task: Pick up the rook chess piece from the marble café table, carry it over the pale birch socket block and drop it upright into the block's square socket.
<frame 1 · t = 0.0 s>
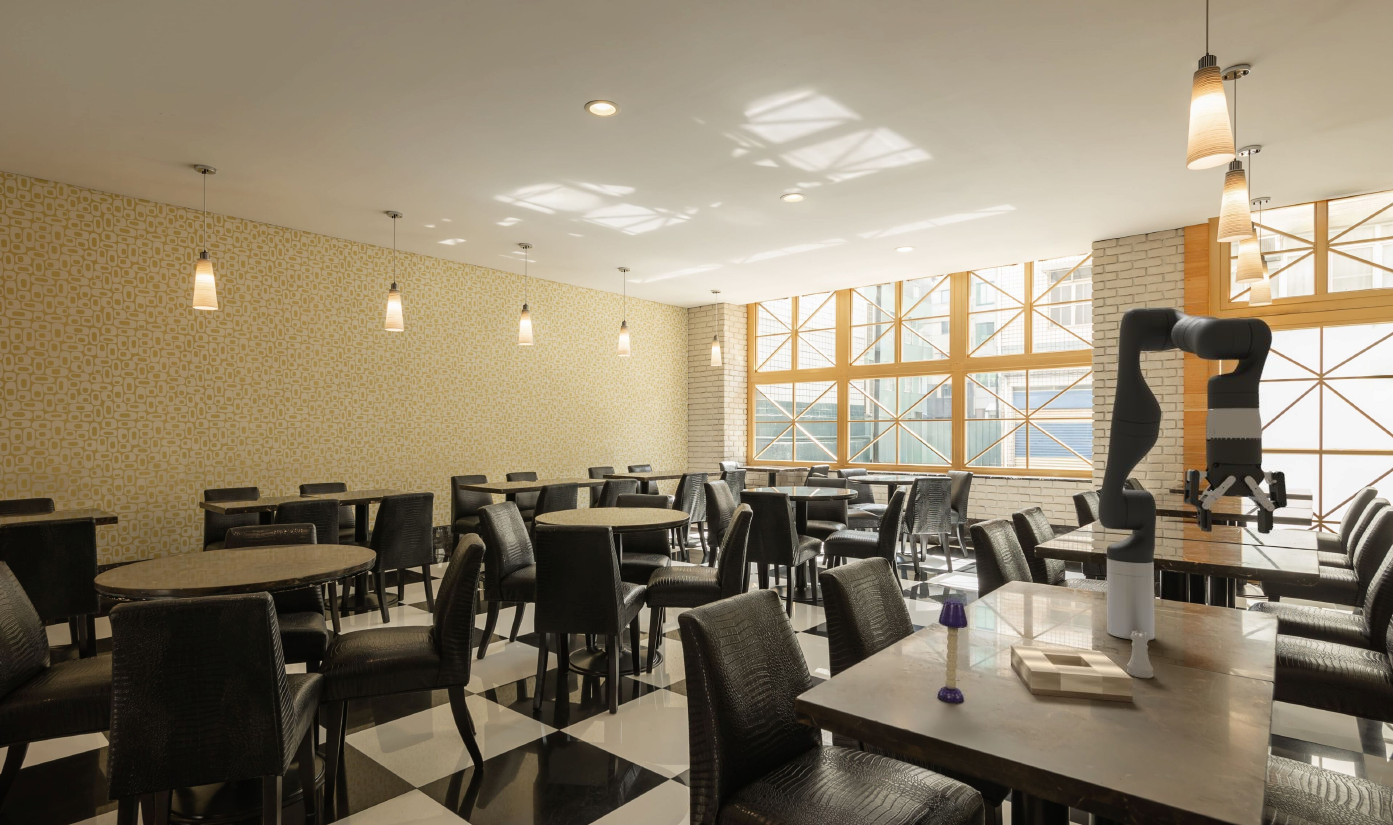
hand: (1234, 532, 119), 29 cm above the table, fingers open, 8 cm apart
toy lamp: (952, 700, 121), on the table
socket block: (1067, 682, 130), on the table
rook chess piece: (1140, 676, 135), on the table
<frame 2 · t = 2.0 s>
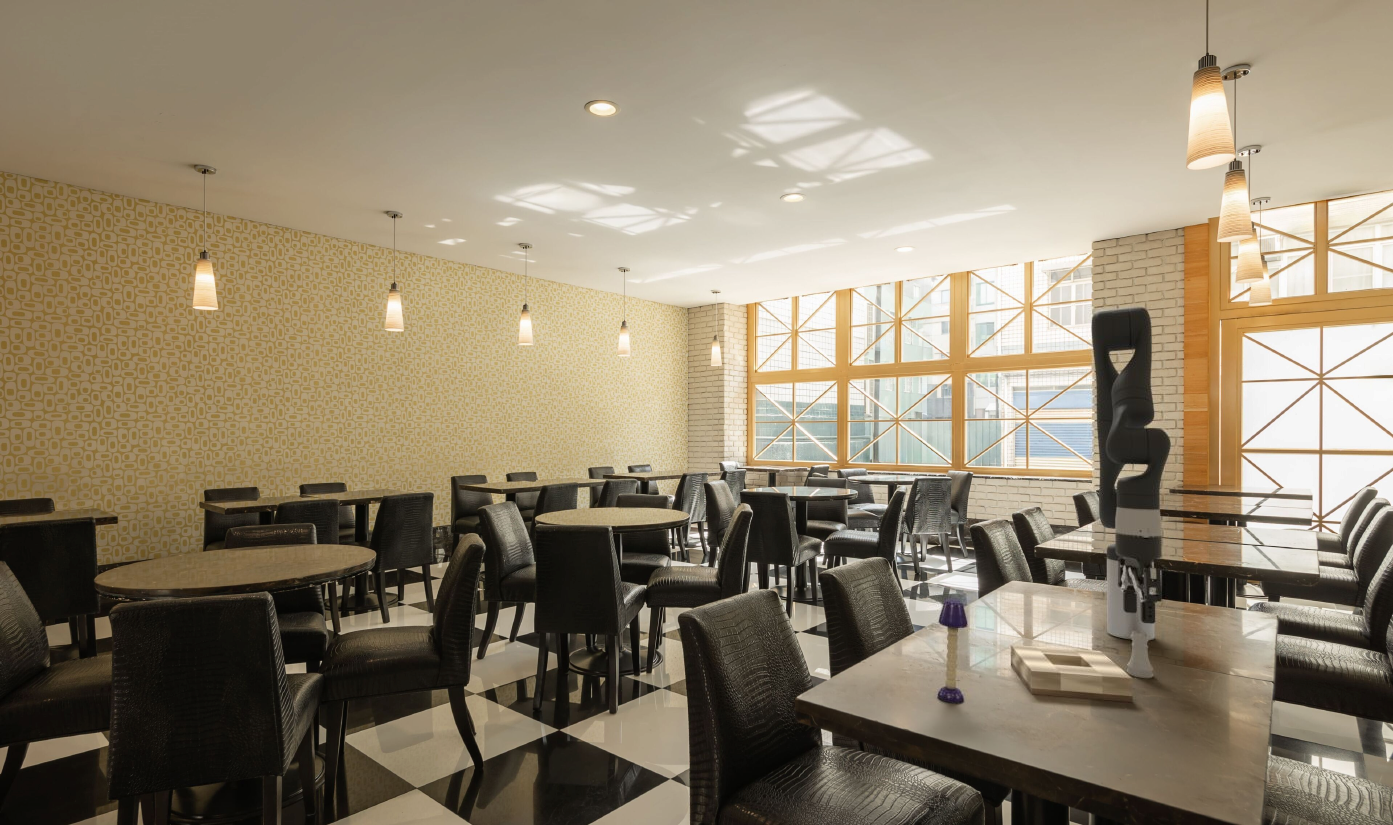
hand: (1138, 617, 135), 11 cm above the table, fingers open, 8 cm apart
nothing on the table moved.
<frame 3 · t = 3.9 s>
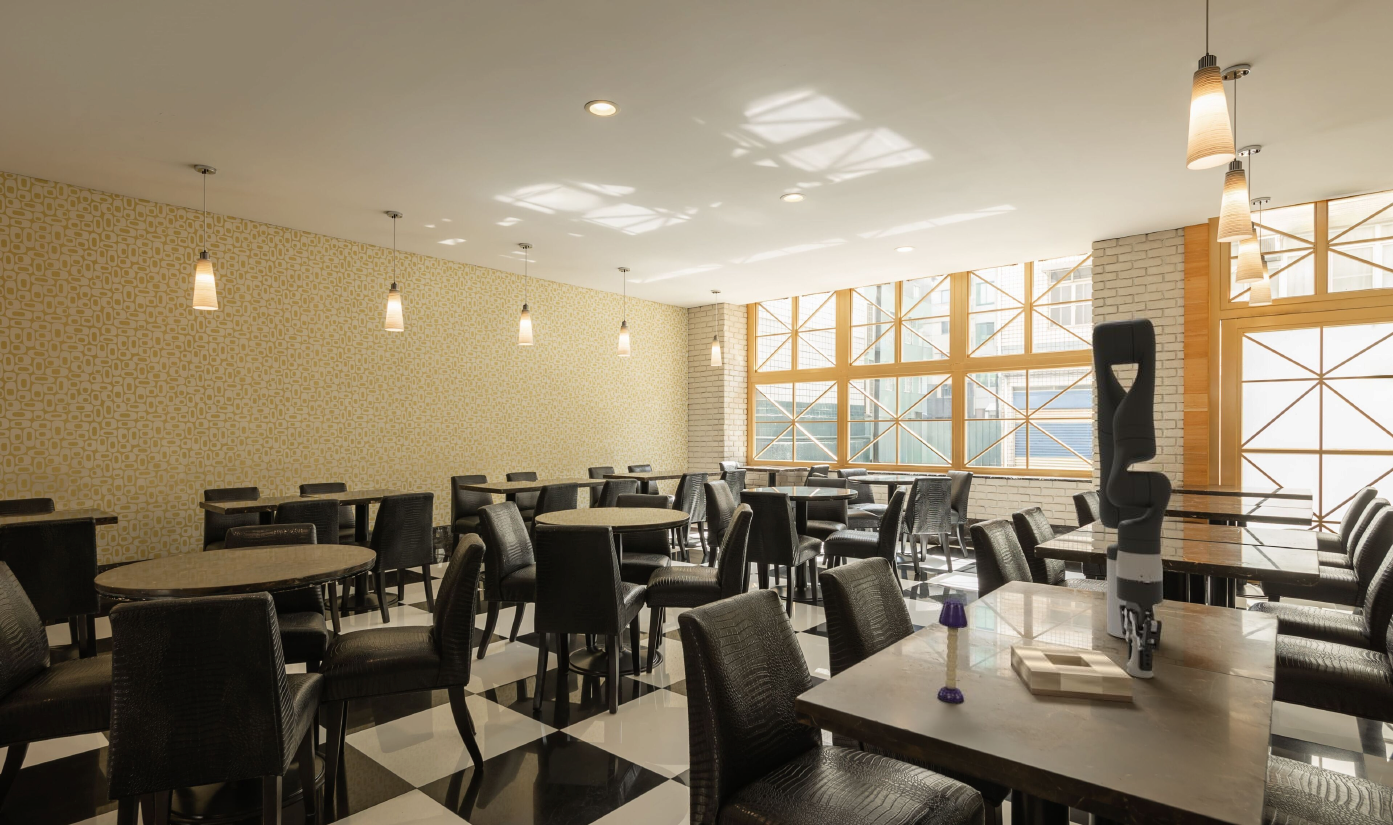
hand: (1140, 665, 135), 2 cm above the table, fingers closed on rook chess piece, 4 cm apart
rook chess piece: (1140, 676, 135), on the table, touching gripper
everything else where it was.
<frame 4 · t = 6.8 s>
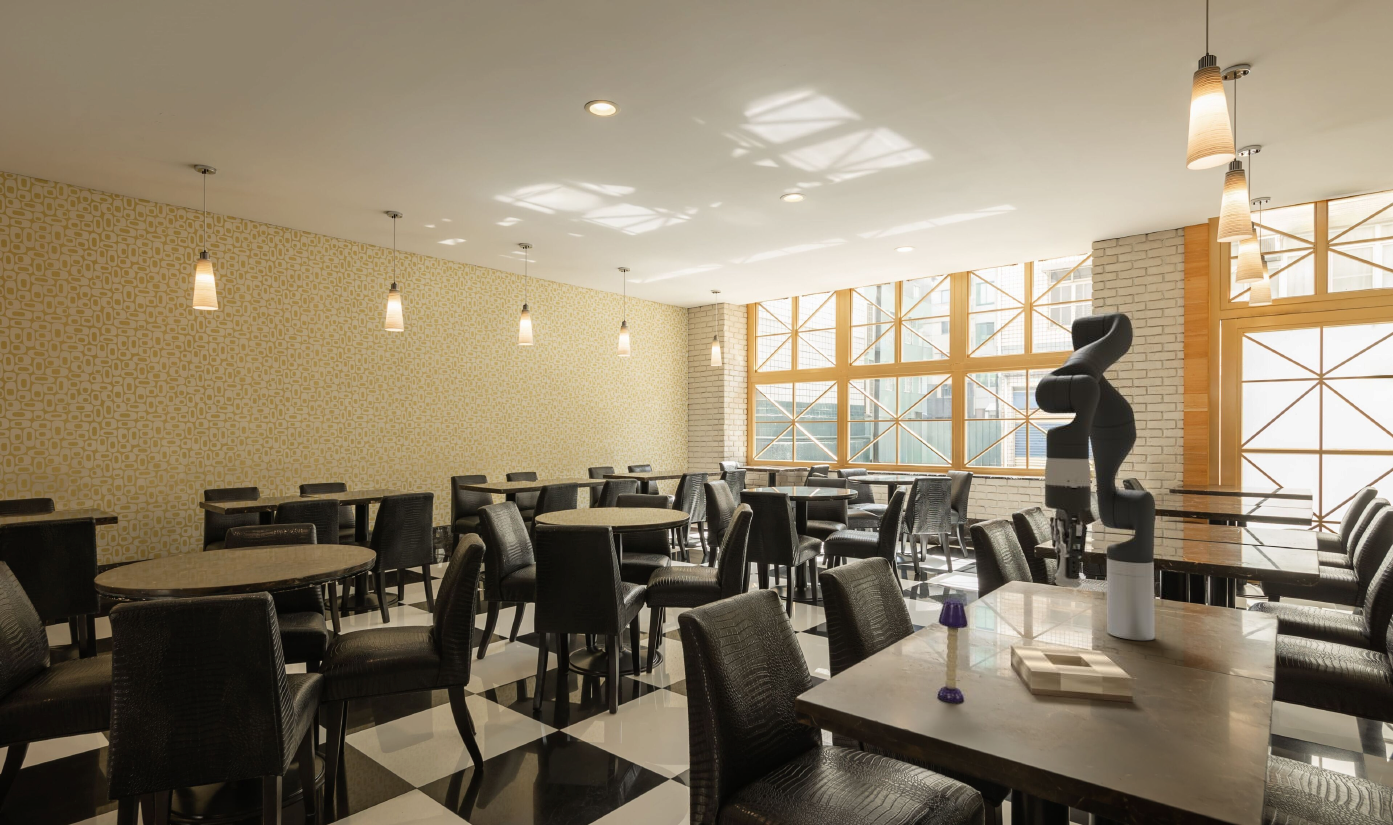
hand: (1067, 575, 131), 19 cm above the table, fingers closed on rook chess piece, 4 cm apart
rook chess piece: (1067, 586, 131), point 18 cm above the table, touching gripper
everything else where it was.
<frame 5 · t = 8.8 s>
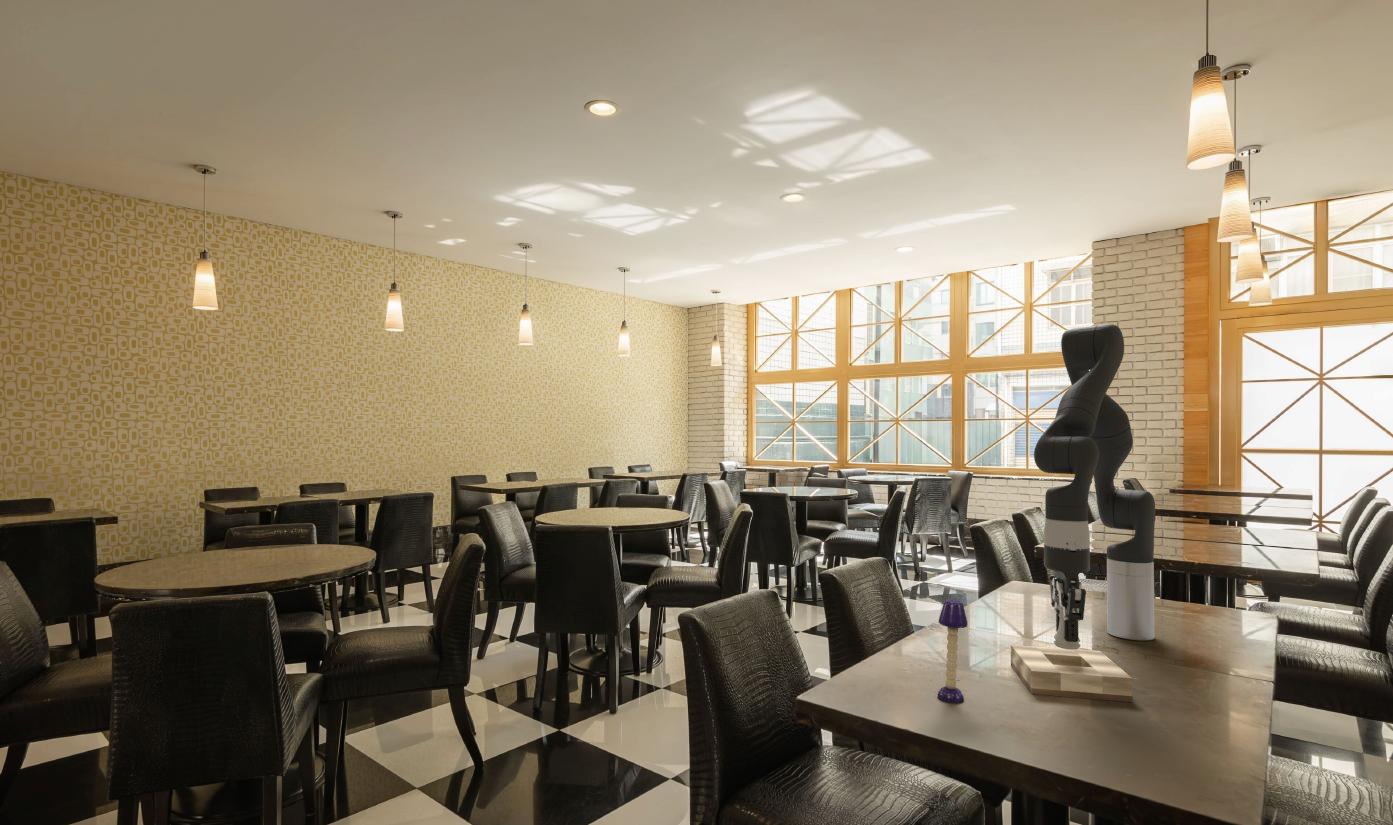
hand: (1067, 637, 131), 8 cm above the table, fingers closed on rook chess piece, 4 cm apart
rook chess piece: (1067, 647, 131), point 6 cm above the table, touching gripper
everything else where it was.
when the fingers open (7 cm above the table, at t = 10.0 s): rook chess piece drops 4 cm, resting on socket block.
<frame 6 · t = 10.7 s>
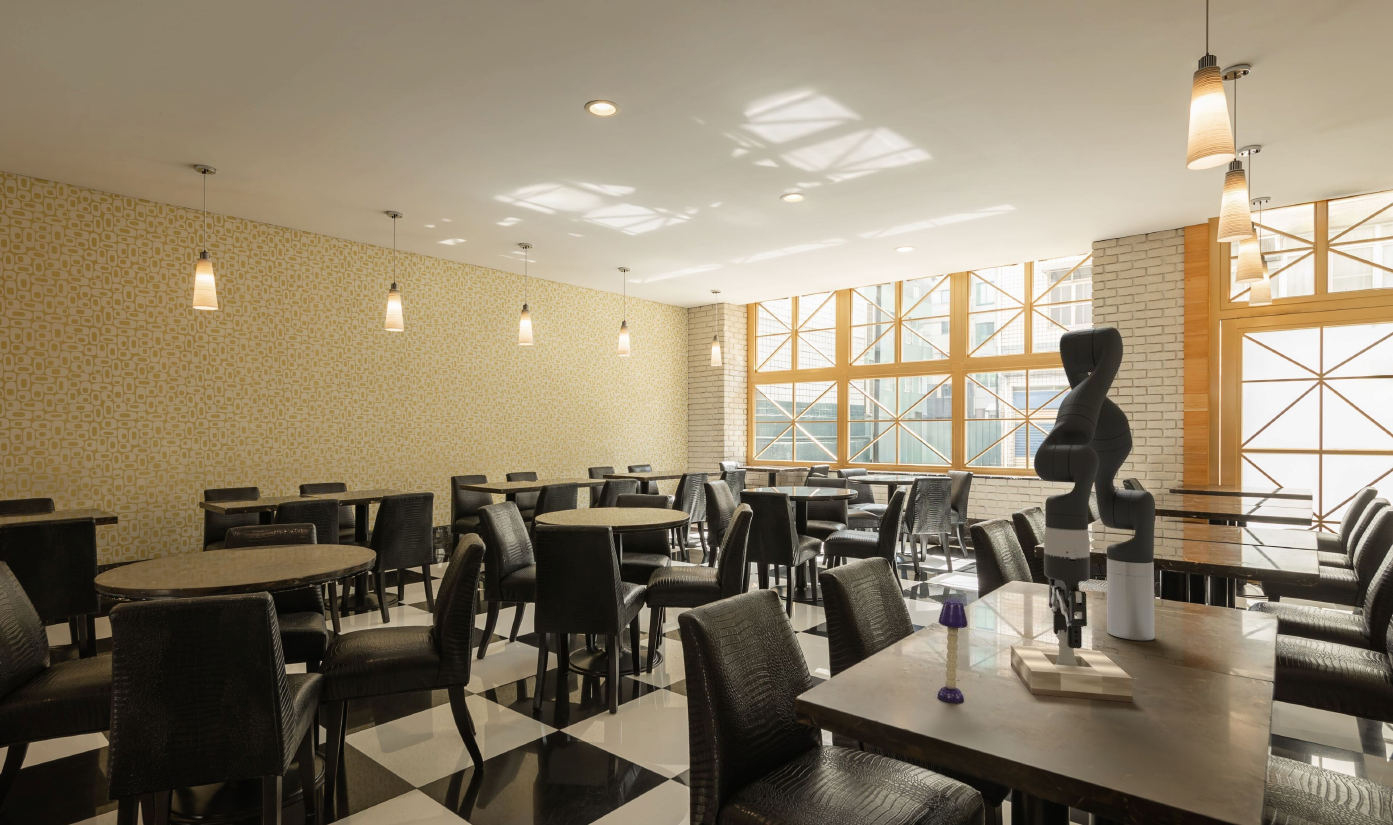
hand: (1067, 641, 130), 8 cm above the table, fingers open, 8 cm apart
rook chess piece: (1067, 677, 130), point 1 cm above the table, touching socket block
everything else where it was.
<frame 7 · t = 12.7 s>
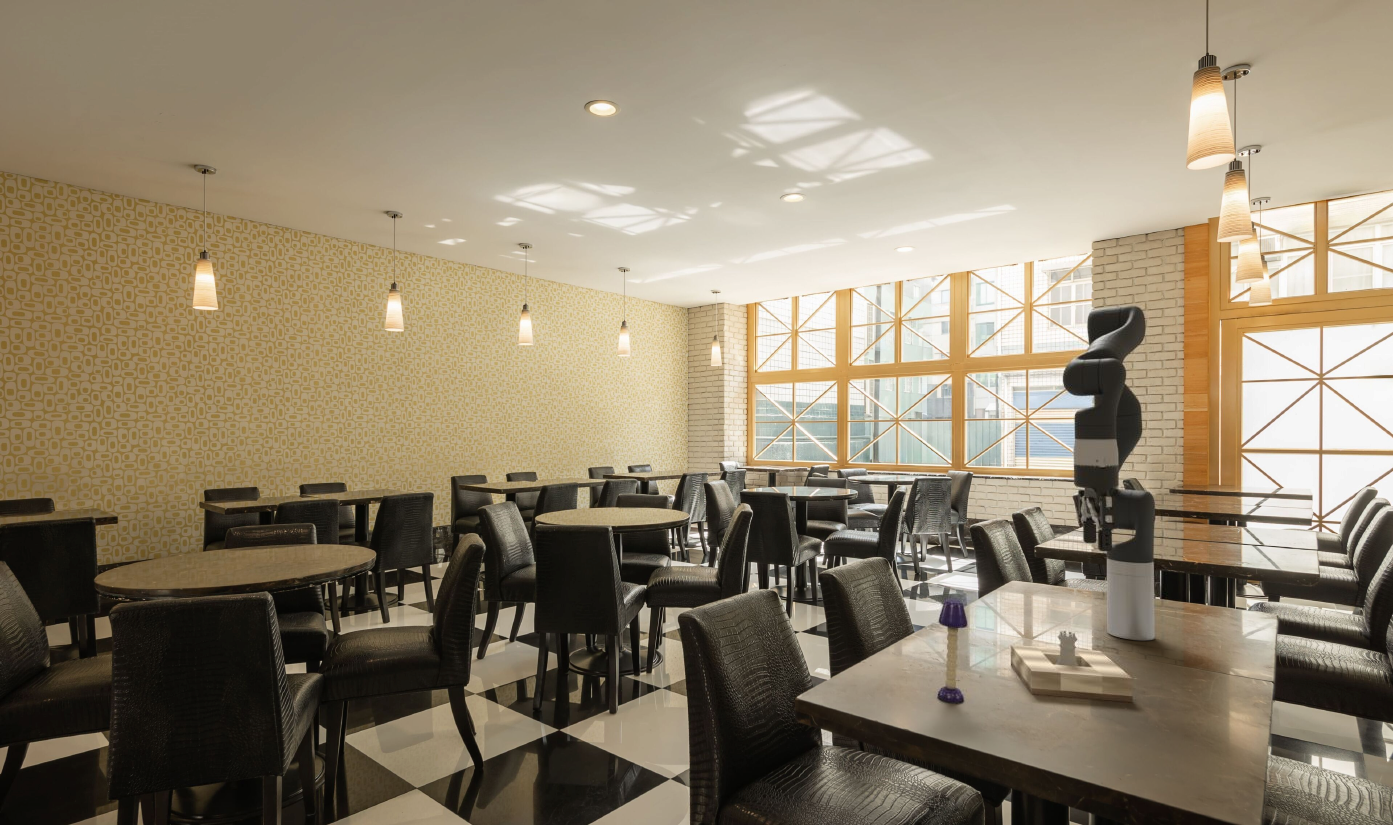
hand: (1097, 546, 137), 24 cm above the table, fingers open, 8 cm apart
nothing on the table moved.
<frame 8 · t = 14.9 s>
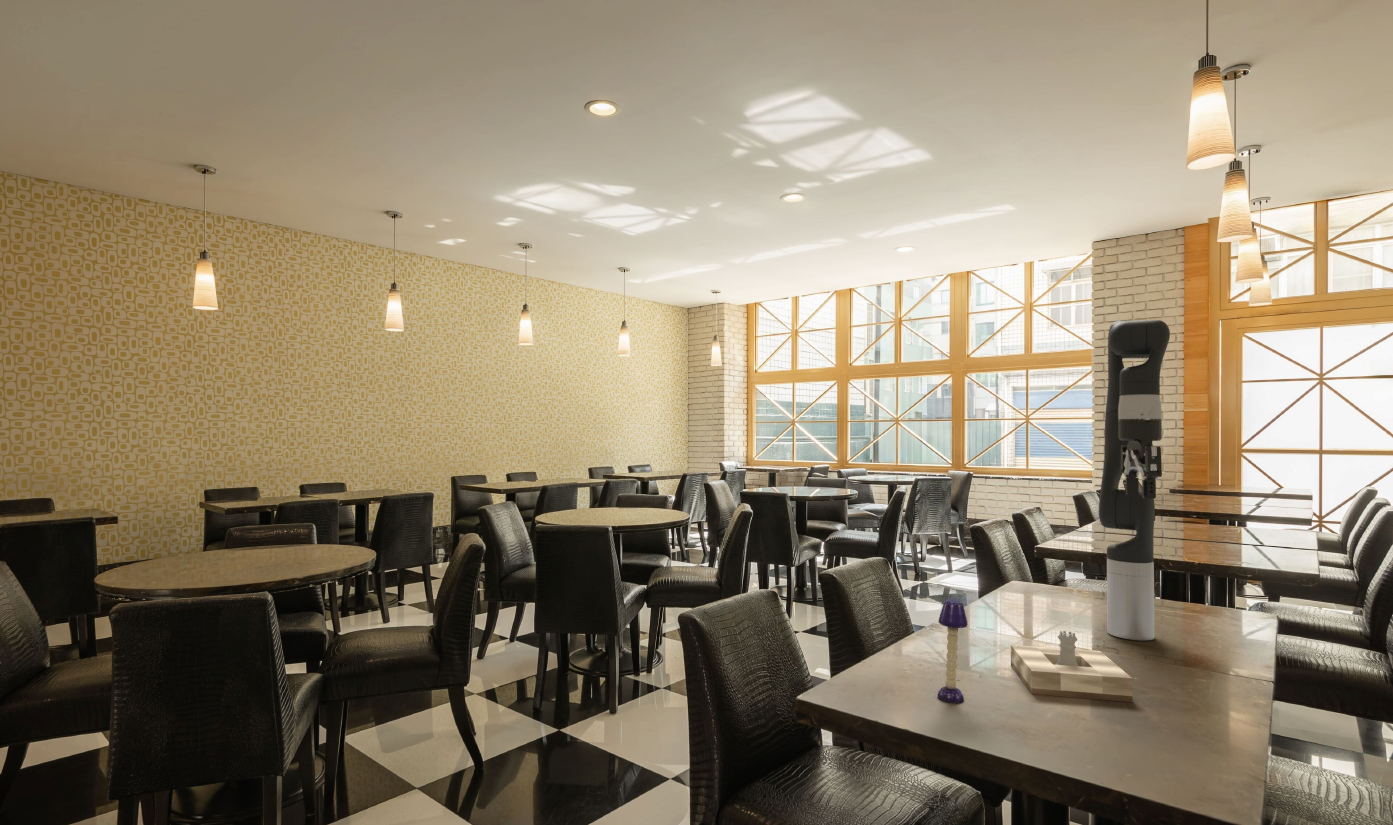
hand: (1140, 496, 145), 33 cm above the table, fingers open, 8 cm apart
nothing on the table moved.
at the end: rook chess piece 0.1 cm off-centre on the socket block, point 0.8 cm above the socket block's base; rook chess piece tilted 0°; the gripper is holding nothing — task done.
